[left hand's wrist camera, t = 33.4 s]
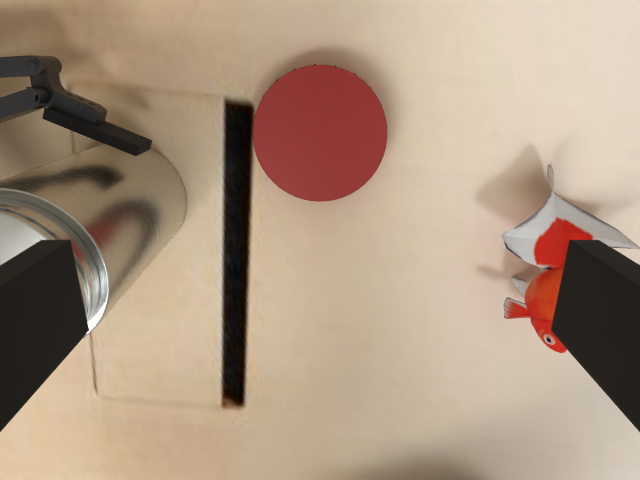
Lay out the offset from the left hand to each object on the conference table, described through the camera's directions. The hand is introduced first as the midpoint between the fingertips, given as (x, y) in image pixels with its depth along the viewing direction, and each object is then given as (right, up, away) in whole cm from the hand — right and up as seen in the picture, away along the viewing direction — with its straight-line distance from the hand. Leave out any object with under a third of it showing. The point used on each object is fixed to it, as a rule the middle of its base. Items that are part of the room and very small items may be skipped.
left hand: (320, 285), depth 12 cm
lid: (0, +10, +25) cm, 27 cm away
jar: (-17, +5, +29) cm, 34 cm away
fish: (+20, +1, +30) cm, 36 cm away
